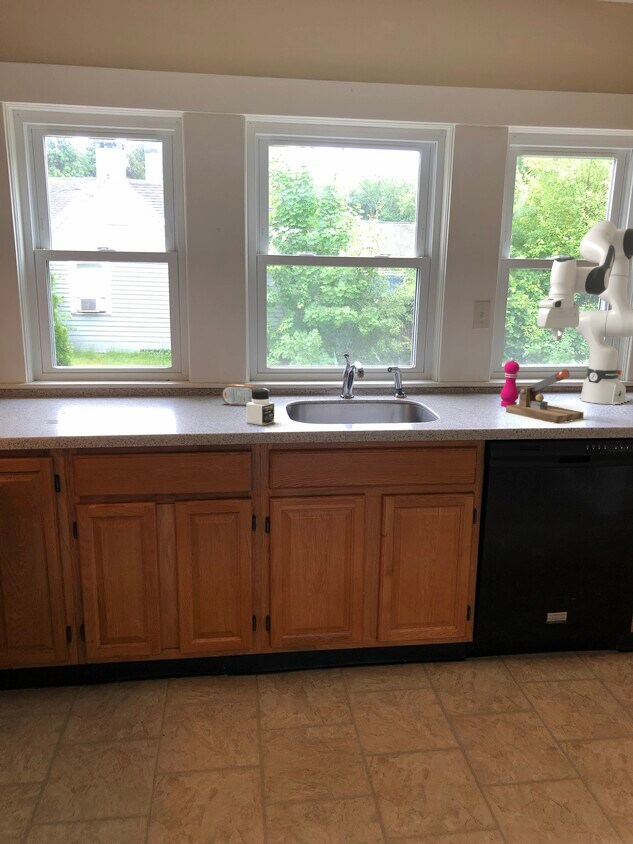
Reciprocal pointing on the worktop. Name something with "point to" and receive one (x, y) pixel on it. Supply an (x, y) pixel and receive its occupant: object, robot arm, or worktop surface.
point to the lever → (549, 380)
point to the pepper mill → (510, 384)
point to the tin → (237, 394)
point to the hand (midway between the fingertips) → (557, 340)
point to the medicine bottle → (260, 408)
